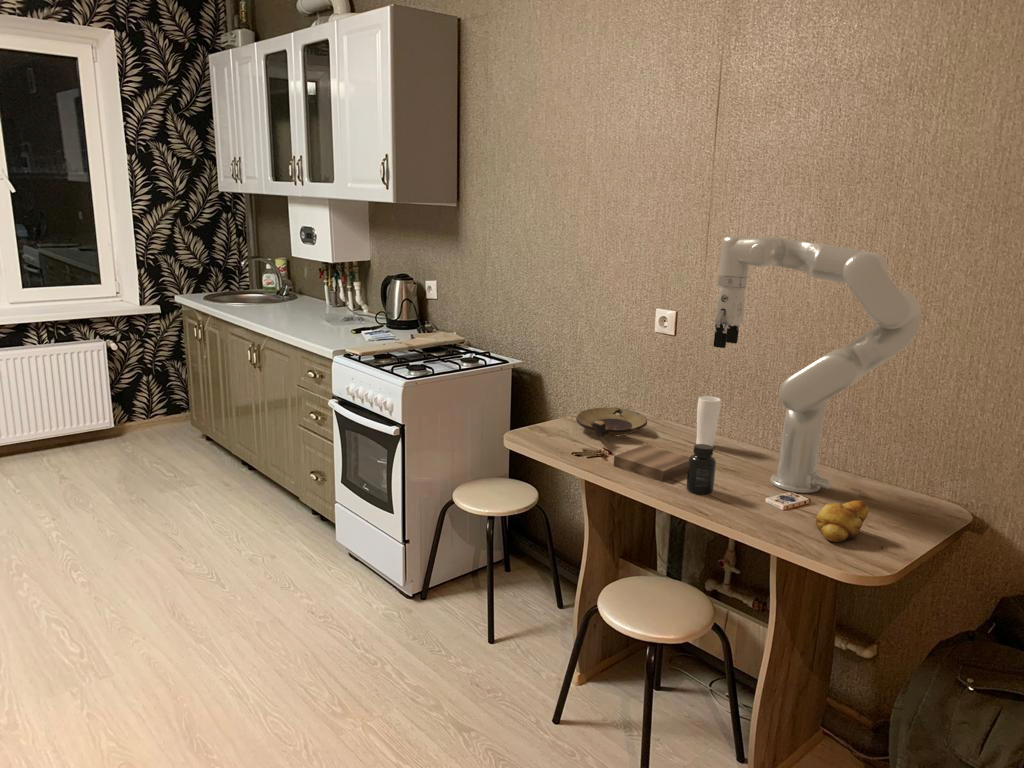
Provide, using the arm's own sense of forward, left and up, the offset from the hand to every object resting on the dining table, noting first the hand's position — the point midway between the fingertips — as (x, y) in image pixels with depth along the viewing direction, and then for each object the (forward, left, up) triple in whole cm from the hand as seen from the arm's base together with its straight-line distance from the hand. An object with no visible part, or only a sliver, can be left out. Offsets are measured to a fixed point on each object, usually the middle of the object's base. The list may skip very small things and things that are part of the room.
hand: (725, 345), depth 207 cm
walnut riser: (+10, +15, -35) cm, 39 cm away
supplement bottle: (-8, +21, -35) cm, 42 cm away
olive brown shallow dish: (+39, -1, -35) cm, 53 cm away
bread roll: (-43, +21, -35) cm, 59 cm away
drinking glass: (+11, -15, -35) cm, 40 cm away
